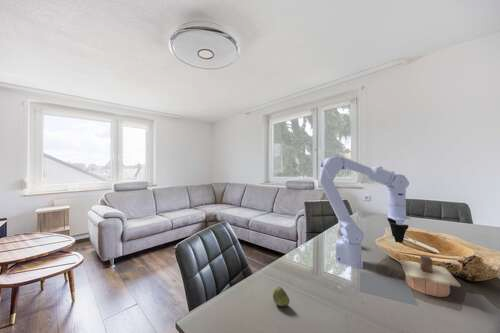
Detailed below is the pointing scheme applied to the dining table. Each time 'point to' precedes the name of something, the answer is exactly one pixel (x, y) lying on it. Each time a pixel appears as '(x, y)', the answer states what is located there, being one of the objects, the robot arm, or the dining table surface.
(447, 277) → the lid
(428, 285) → the bowl
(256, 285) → the dining table surface
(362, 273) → the mat
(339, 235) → the donut
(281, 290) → the lime
